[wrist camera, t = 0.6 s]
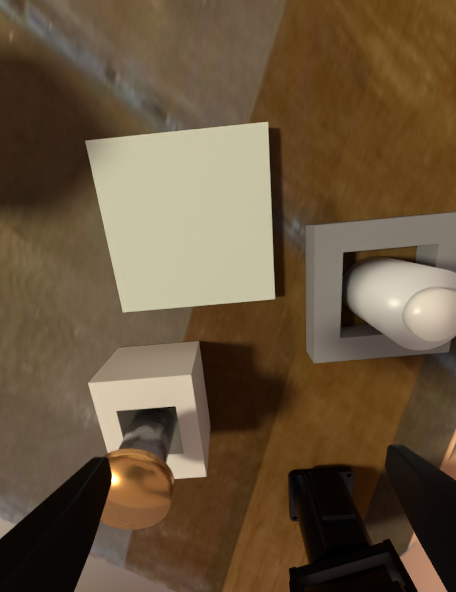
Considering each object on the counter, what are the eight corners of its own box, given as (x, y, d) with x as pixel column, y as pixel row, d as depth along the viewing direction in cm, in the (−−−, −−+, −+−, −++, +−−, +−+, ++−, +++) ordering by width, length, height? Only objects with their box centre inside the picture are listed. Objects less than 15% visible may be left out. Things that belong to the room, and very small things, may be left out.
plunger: (190, 445, 20) (176, 526, 14) (130, 449, 20) (94, 531, 14) (181, 392, 18) (163, 461, 13) (117, 398, 18) (72, 468, 13)
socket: (429, 340, 22) (448, 352, 20) (306, 350, 22) (313, 363, 20) (448, 211, 19) (473, 210, 17) (305, 225, 19) (314, 225, 17)
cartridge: (399, 312, 21) (477, 353, 14) (339, 318, 21) (389, 360, 14) (405, 252, 20) (495, 267, 13) (341, 258, 20) (398, 276, 13)
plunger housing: (210, 425, 24) (206, 476, 19) (138, 431, 24) (116, 482, 19) (199, 341, 22) (190, 374, 17) (118, 347, 22) (87, 383, 17)
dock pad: (272, 295, 20) (275, 299, 19) (127, 308, 21) (123, 312, 20) (265, 127, 17) (268, 121, 16) (93, 145, 17) (85, 140, 16)
